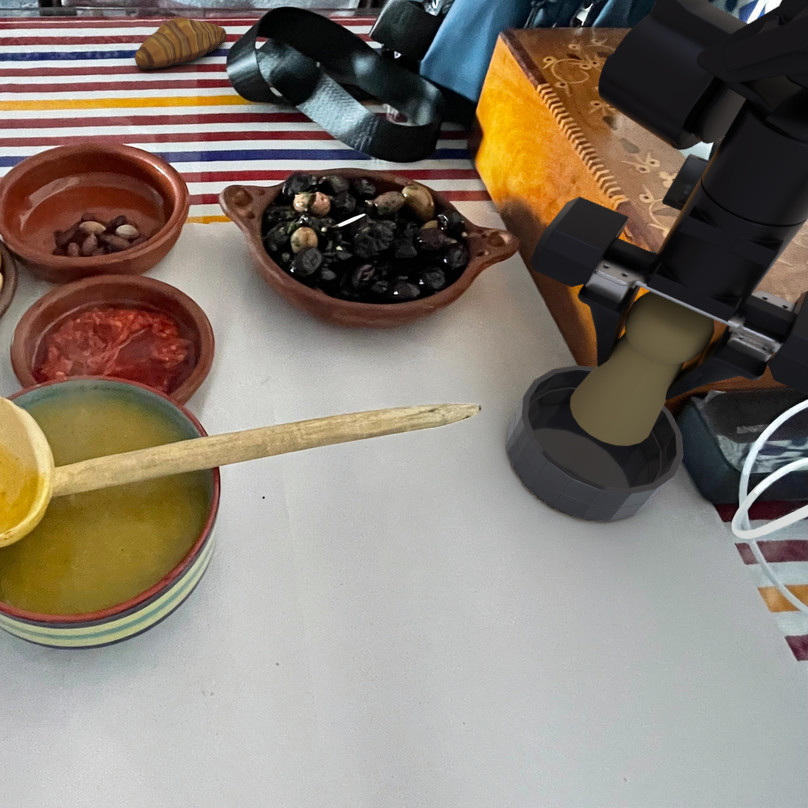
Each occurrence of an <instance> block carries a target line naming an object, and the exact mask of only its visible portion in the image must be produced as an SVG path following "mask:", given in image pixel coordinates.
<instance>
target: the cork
mask: <svg viewBox="0 0 808 808" xmlns="http://www.w3.org/2000/svg"><path fill="white" fill-rule="evenodd" d="M715 332H716V329H715V320H714V319H712V318H710V317H708V316H705V315H703V314H701V313H699V312H696V311H694V310H692V309H690V308H687V307H685V306H683V305H681V304H678V303H676V302H674V301H672V300H669V299H667V298H665V297H663V296H660V295H658V294H656V293H653V292H651V291H649V290H648V291H646V292H645V293H643V294H642V295H640V296H639V297H637V299H635V301H634V303H633V305H632V306H631V308H630V310H629V311H628V313H627V315H626V319H625V326H624V333H622V334H621V336H620V338H619V340H618V341H617V343H616V344H615V346H614V348H613V351H612V353H611V355H610V357H609V359H608V361H607V362H605V363H604V364H602V365H601V366H599V367H598V366H597V364H596V365H595V366H593V367H594V369H593V370H592V371H591V372H590V373H589V374H588V376H587V377H586V378H585V379H584V380H583V381H582V383H581V384H580V385H579V386H578V387H577V388H576V390H575V391H574V393H573V394H572V396H571V401H570V408H571V411H572V415H573V417H574V418H575V420H576V421H577V423H578V424H579V426H580V427H581V428H583V429H584V430H585V431H586V432H587V433H588V434H590V435H591V436H593V437H595V438H597V439H599V440H601V441H602V442H606V443H609V444H613V445H621V446H630V445H634V444H638V443H640V442H642V441H643V440H645V439H646V438H647V437H648V436H649V434H650V432H651V430H652V428H653V426H654V424H655V422H656V420H657V418H658V416H659V414H660V412H661V410H662V408H663V406H665V404H666V402H667V400H665V398H666V393H667V390H668V388H669V387H670V386H671V385H672V383H673V382H674V381H675V379H676V378H677V377H678V375H679V373H680V371H681V369H682V367H683V366H684V365H685V364H686V362H688V361H691V360H692V359H694V358H695V357H696V356H698V355H699V354H701V353H702V352H703V351H704V350H705V349H706V348H707V346H708V345H709V343H710V341H711V339H712V337H713V334H714V333H715Z"/></svg>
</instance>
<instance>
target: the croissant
mask: <svg viewBox="0 0 808 808" xmlns="http://www.w3.org/2000/svg"><path fill="white" fill-rule="evenodd" d="M227 37H228V35H227V31H226V29H225V27H222V26H220V25H218V24H216V23H210V22H205V21H200V20H199V21H198V20H194V19H190V18H185V17H176V18H175V17H174V18H171V19H169V20H167V21H165V22H163V23H162V24H160V26H159V27H158V28H157V30H156V31H154V32H153V33H152V34H150V36H148V38H146V40H144V42H143V43H141V45H140V46H139V48H138V49H137V51H136V52H135V55H134V61H135V65H136V66H137V67H138V68H139V69H141V70H154V69H162V68H168V67H172V66H176V65H182V64H186V63H191V62H192V63H193V62H194V61H196V60H198V59H201V58H203V57H204V56H206V55H208V54H210V52H211V53H213V52H215V51H216V50H217V49H219V48H220V47H221V46H222V45H223V44H224V43H226V41H227ZM222 43H223V44H222ZM221 44H222V45H221ZM220 45H221V46H220ZM219 46H220V47H219ZM218 47H219V48H218ZM216 48H217V49H216ZM215 49H216V50H215ZM212 51H213V52H212ZM207 53H208V54H207Z"/></svg>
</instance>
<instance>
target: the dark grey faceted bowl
mask: <svg viewBox="0 0 808 808" xmlns="http://www.w3.org/2000/svg"><path fill="white" fill-rule="evenodd" d="M594 367H595V366H585V365H578V364H577V365H569V366H564V367H557V368H554V369H551V370H549V371H547V372H545V373H543V374H542V375H540V376H538V377H537V378H535V379H533V381H532V382H531V384H530V386H529V387H528V388H527V390H526V391H525V392H524V394H523V396H522V398H521V401H520V402H519V404H518V406H517V407H516V410H515V412H514V414H513V416H512V418H511V420H510V422H509V423H508V427H507V437H506V444H505V445H506V450H507V453H508V456H509V460H510V463H511V466H512V468H513V470H514V471H515V472H516V474H517V475H518V477H519V479H520V480H521V481H522V483H523V484H524V486H526V488H527V489H528V490H529V491H530V492H531V493H532V494H534V496H536V497H537V498H539V499H540V500H541V501H542V502H543V503H545V504H547V505H548V506H550V507H552V508H553V509H555V510H558V511H559V512H561V513H564V514H566V515H569V516H571V517H575V518H579V519H584V520H588V521H589V520H590V521H601V522H611V521H617V520H622V519H626V518H630V517H633V516H636V515H637V514H638V513H640V512H641V511H642V510H644V509H646V507H648V506H649V505H650V504H651V503H652V502H654V500H655V499H656V498H657V497H658V495H659V494H660V493H661V492H662V491H663V490H664V489H665V487H666V486H667V485H668V484H669V483H670V482H671V480H672V479H674V477H675V476H676V474H677V472H678V469H679V467H680V465H681V463H682V462H683V461H682V460H683V458H684V447H683V435H682V432H681V430H680V428H679V426H678V424H677V423H676V420H675V418H674V416H673V414H672V412H671V411H670V410H669V409H668V408H667V407H666V406H665V405H664V406H663V408H662V410H661V412H660V414H659V416H658V418H657V420H656V422H655V424H654V426H653V428H652V430H651V432H650V434H649V436H648V437H647V438H646V439H645V440H643V441H642V442H640V443H638V444H634V445H630V446H621V445H613V444H609V443H606V442H602V441H601V440H599V439H597V438H595V437H593V436H591V435H590V434H588V433H587V432H586V431H585V430H584V429H583V428H581V427H580V426H579V424H578V423H577V421H576V420H575V418H574V417H573V415H572V411H571V408H570V401H571V396H572V394H573V393H574V391H575V390H576V388H577V387H578V386H579V385H580V384H581V383H582V381H583V380H584V379H585V378H586V377H587V376H588V374H589V373H590V372H591V371H592V370H593V369H594Z"/></svg>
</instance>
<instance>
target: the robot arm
mask: <svg viewBox="0 0 808 808" xmlns="http://www.w3.org/2000/svg"><path fill="white" fill-rule="evenodd" d="M597 85H598V86H597V91H598V97H599V98H600V100H601V101H602V102H604V103H605V104H607V105H608V106H610V107H611V108H613V109H614V110H616V111H617V112H618V113H620V114H622V115H623V116H625V117H626V118H628V119H629V120H630V121H632V122H633V123H635V124H637V125H638V126H640V127H641V128H642V129H645V131H647V132H649V133H650V134H652V135H653V136H655V137H656V138H657V139H659V140H661V141H662V142H664V143H666V144H667V145H668V146H669V147H671V148H673V149H675V150H677V151H684V150H688V149H691V148H693V147H695V146H697V145H698V144H700V143H703V144H705V145H706V144H707V145H710V144H713V143H715V142H717V141H719V140H721V139H722V140H721V141H720V143H719V145H718V146H717V149H716V150H715V152H714V154H713V155H712V156H711V158H710V160H709V159H706V158H704V157H701V156H698V155H695V154H693V153H689V154H688V155H687V157H686V158H685V160H684V161H683V163H682V165H681V167H680V169H679V170H678V172H677V174H676V176H675V177H674V179H673V180H672V182H671V184H670V186H669V187H668V189H667V192H666V193H665V195H664V196H663V199H662V200H661V204H663V205H665V206H667V207H669V208H672V209H675V210H677V211H679V214H678V216H677V217H676V219H675V221H674V223H673V224H672V226H671V227H670V229H669V231H668V233H667V234H666V236H665V238H664V239H663V242H662V243H661V245H660V247H659V249H658V251H654V250H648V249H646V248H643V247H641V246H638V245H636V244H633V243H631V242H629V241H626V240H624V239H622V238H621V235H622V233H623V232H624V230H625V228H626V227H627V224H628V223H629V218H630V216H628V215H626V214H623V213H621V212H618V211H616V210H614V209H612V208H609V207H606V206H604V205H601V204H599V203H596V202H594V201H592V200H589V199H587V198H585V197H582V196H577V197H575V198H572V199H571V200H569V201H566V203H565V204H564V205H563V207H562V208H561V209H560V211H558V213H557V214H556V215H555V217H554V218H553V219H552V220H551V222H550V223H549V224H548V225H547V227H546V228H545V230H543V232H542V234H541V235H540V238H539V239H538V241H537V243H536V246H535V248H534V250H533V253H532V255H531V258H530V260H529V264H530V266H531V268H532V269H533V271H534V272H536V273H539V274H541V275H544V276H546V277H548V278H550V279H551V280H555V281H556V282H559V283H561V284H563V285H565V286H568V287H569V288H574V287H579V286H581V287H580V289H579V291H578V293H577V299H578V300H579V302H581V303H582V304H585V305H587V306H588V308H589V311H590V314H591V319H592V323H593V326H594V331H595V340H596V345H595V346H596V365H597V366H598V367H599V366H601V365H602V364H604V363H605V362H607V361H608V359H609V357H610V355H611V353H612V351H613V348H614V346H615V344H616V343H617V341H618V340H619V338H620V337H621V336H622V335H623V332H624V330H625V319H626V315H627V313H628V311H629V310H630V308H631V306H632V305H633V303H634V302H635V301H636V300H637V299H636V298H637V296H638V294H639V293H640V290H641V288H642V289H644V290H646V291H648V292H649V291H651V292H653V293H656V294H658V295H660V296H663V297H665V298H667V299H669V300H672V301H674V302H676V303H678V304H681V305H683V306H685V307H687V308H690V309H692V310H694V311H696V312H699V313H701V314H703V315H705V316H708V317H710V318H712V319H714V321H717V322H719V323H721V324H720V325H719V327H718V328H717V329H715V331H714V334H713V337H712V339H711V341H710V343H709V345H708V346H707V348H706V349H705V350H704V351H703V352H702V353H701V354H699V355H698V356H696V357H695V358H694V359H692V360H691V361H688V362H685V363H684V365H683V367H682V369H681V371H680V373H679V375H678V377H677V378H676V379H675V381H674V382H673V383H672V385H671V386H670V387H669V388H668V390H667V393H666V398H665V400H666V401H669V400H671V399H674V398H676V397H679V396H681V395H683V394H686V393H689V392H692V391H694V390H695V389H698V388H701V387H703V386H707V385H709V384H714V383H718V382H722V381H725V380H726V381H727V380H730V379H734V378H737V377H742V378H745V379H746V380H750V381H758V380H760V379H761V378H762V377H763V376H764V374H765V373H766V370H767V368H768V370H769V372H770V374H771V376H772V379H773V381H775V382H777V383H779V384H782V385H783V386H786V387H787V388H790V389H792V390H795V391H796V392H799V393H801V394H803V395H805V396H808V290H806V291H805V292H803V293H801V294H800V295H799V296H798V297H797V299H796V300H795V301H794V302H792V301H789V300H787V299H785V298H783V297H780V296H778V295H775V294H773V293H771V292H768V291H766V290H757V288H758V287H759V285H760V284H761V283H762V281H763V280H764V278H765V277H766V276H767V275H768V273H770V270H771V269H772V268H773V266H774V265H775V264H776V263H777V261H778V259H779V258H780V257H781V256H782V254H783V253H784V252H785V250H786V249H787V248H788V246H789V245H790V243H791V242H792V241H793V239H794V238H795V237H796V236H797V234H798V233H799V231H801V229H802V227H803V226H804V225H805V223H806V222H807V221H808V0H781V1H780V3H779V4H778V5H777V6H776V7H774V8H772V9H770V10H769V11H767V12H765V13H764V14H763V15H761V16H759V17H757V18H755V19H754V20H752V21H750V22H749V23H748V22H746V21H744V20H742V19H740V18H738V17H736V16H734V15H732V14H730V13H729V12H727V11H724V10H723V9H722V8H719V7H717V6H715V5H714V4H713V3H711V2H710V1H709V0H655V1H654V4H653V6H652V8H651V10H650V12H649V13H648V14H646V16H644V17H643V18H642V19H641V20H639V21H638V22H637V23H636V24H635V25H634V26H633V27H632V28H631V29H630V30H629V31H628V32H627V33H626V34H625V36H624V37H623V38H622V40H621V41H620V42H619V44H618V45H617V46H616V48H615V49H614V51H613V53H610V54H609V55H608V56H607V57H606V59H605V61H604V63H603V65H602V68H601V71H600V73H599V78H598V84H597Z"/></svg>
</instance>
